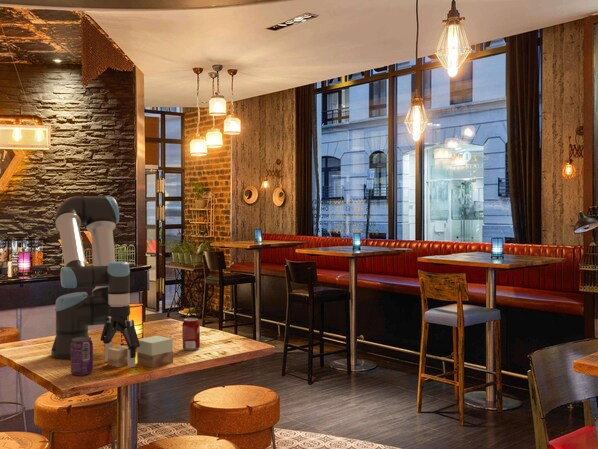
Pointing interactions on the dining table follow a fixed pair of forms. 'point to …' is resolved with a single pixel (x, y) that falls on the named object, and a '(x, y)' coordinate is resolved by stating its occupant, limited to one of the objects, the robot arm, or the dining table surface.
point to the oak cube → (118, 356)
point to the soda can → (191, 334)
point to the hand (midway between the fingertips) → (120, 363)
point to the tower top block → (154, 345)
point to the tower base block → (155, 359)
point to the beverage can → (81, 356)
